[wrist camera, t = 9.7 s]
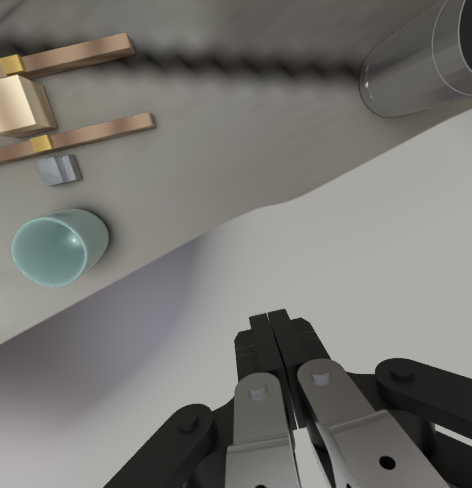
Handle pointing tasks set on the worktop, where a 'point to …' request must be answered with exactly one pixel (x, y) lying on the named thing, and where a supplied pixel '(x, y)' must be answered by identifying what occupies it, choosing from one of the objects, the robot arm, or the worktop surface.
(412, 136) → the worktop surface
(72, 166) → the block
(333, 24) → the worktop surface
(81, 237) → the cup
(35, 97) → the block
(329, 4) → the worktop surface
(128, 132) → the beam rails
